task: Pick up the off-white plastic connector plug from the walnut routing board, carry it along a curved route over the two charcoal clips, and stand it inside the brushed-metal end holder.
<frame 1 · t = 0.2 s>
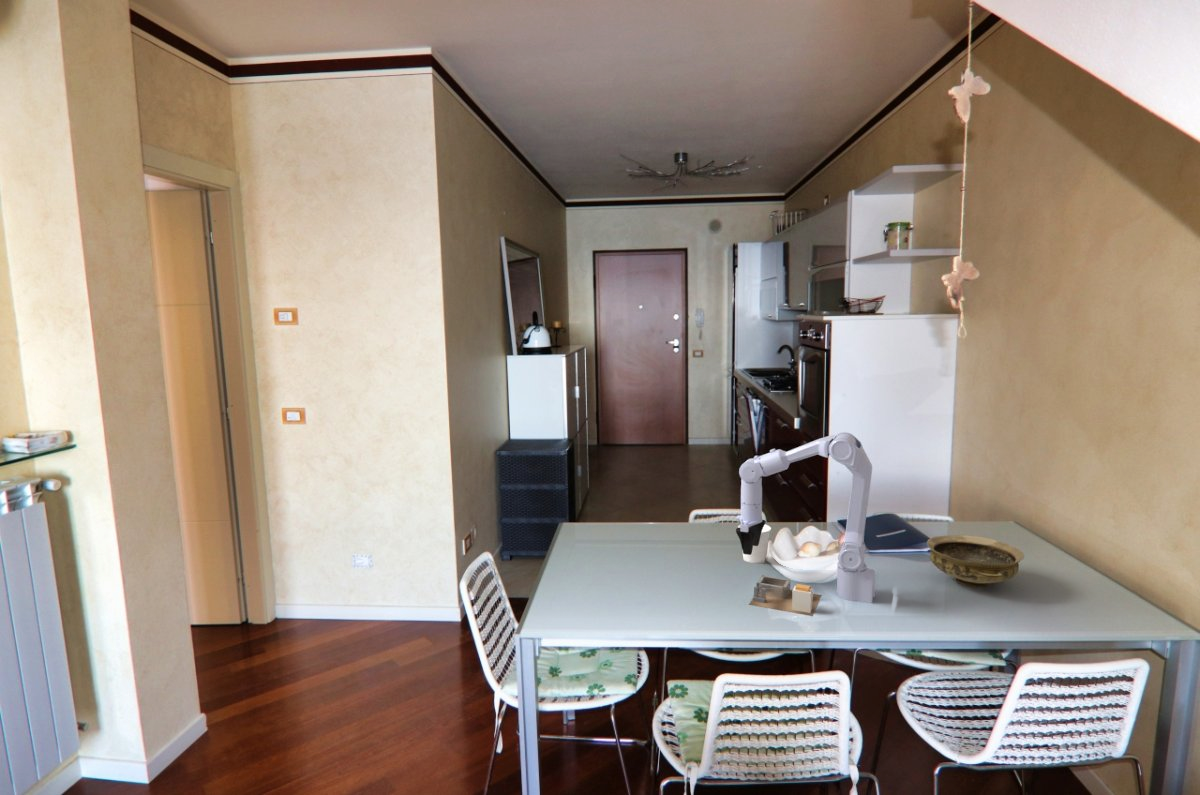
hand: (750, 549, 194), 10 cm above the table, tool pointing down, fingers open, 7 cm apart
connector: (802, 609, 176), point 1 cm above the table, touching routing board
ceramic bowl: (972, 582, 194), on the table
clip a: (805, 598, 182), resting on routing board
cup: (753, 562, 212), on the table
clip b: (759, 600, 181), resting on routing board
end holder: (773, 592, 187), resting on routing board
routing board: (785, 603, 182), on the table
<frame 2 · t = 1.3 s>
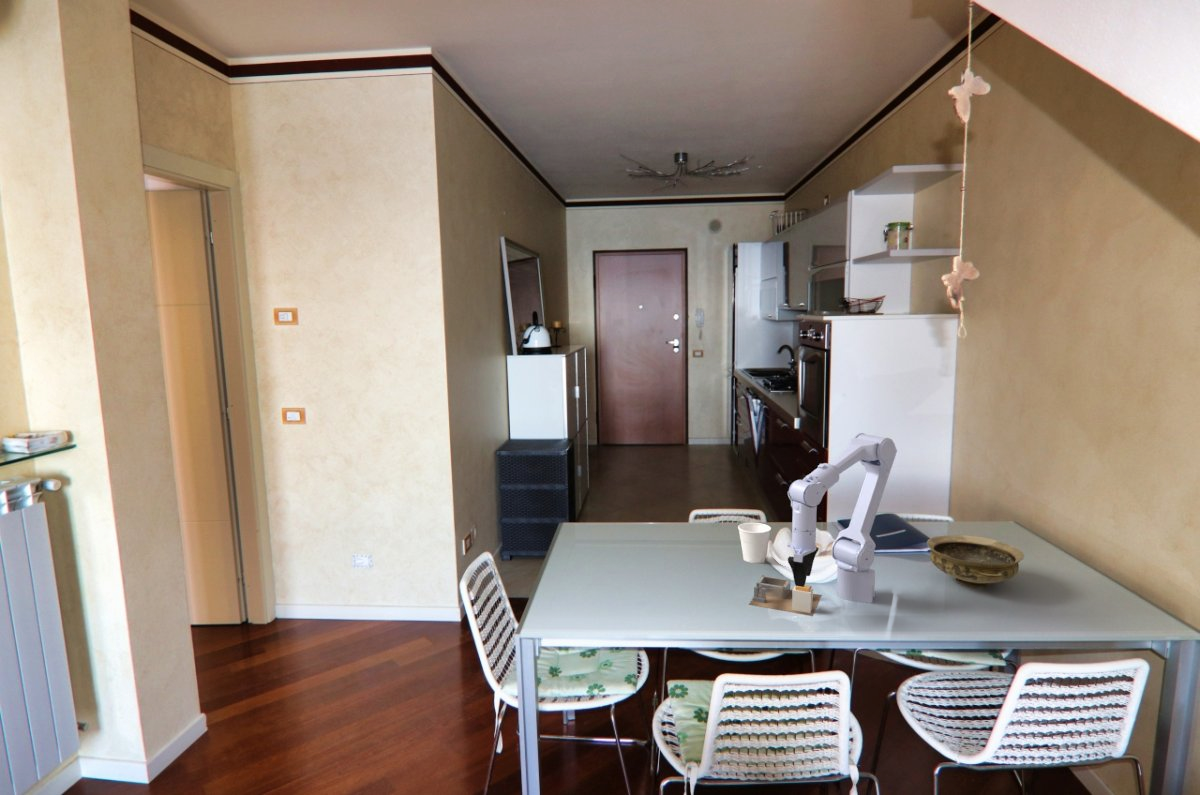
hand: (802, 580, 175), 9 cm above the table, tool pointing down, fingers open, 7 cm apart
nothing on the table moved.
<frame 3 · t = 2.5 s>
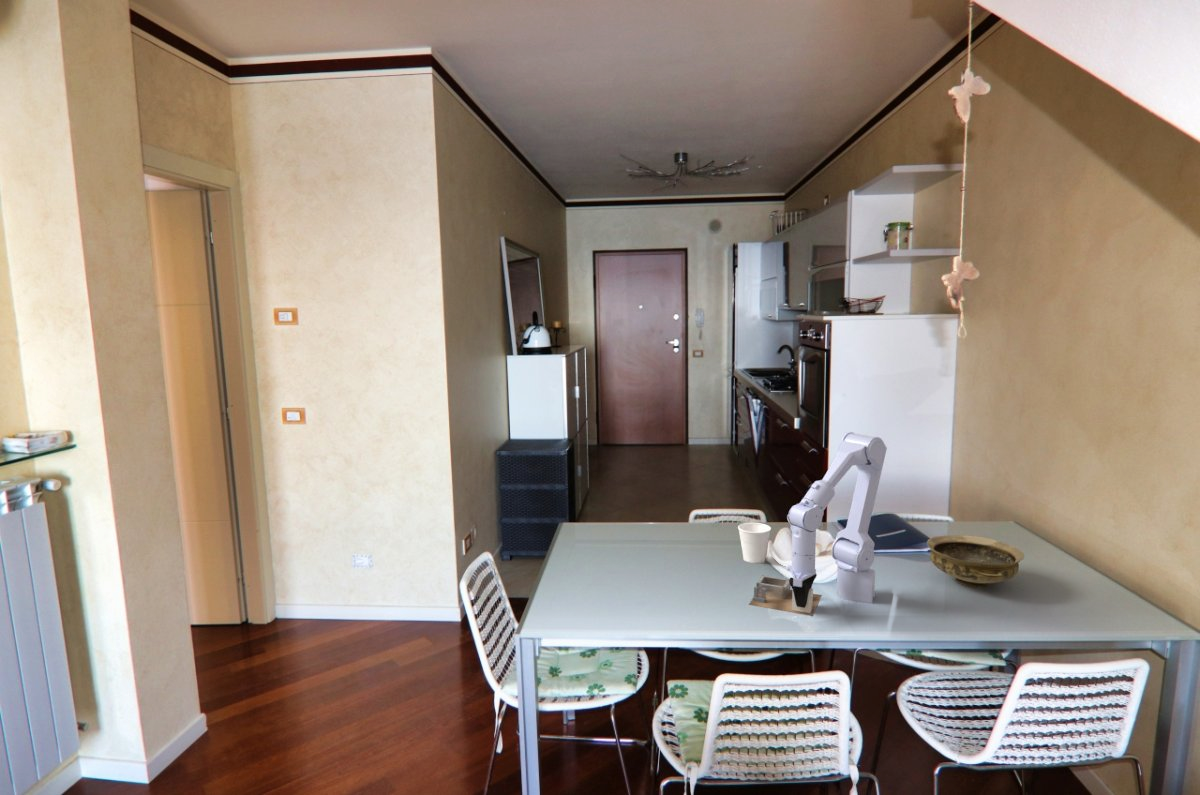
hand: (802, 603, 176), 2 cm above the table, tool pointing down, fingers closed on connector, 3 cm apart
connector: (802, 609, 176), point 1 cm above the table, touching gripper, routing board
everything else where it was.
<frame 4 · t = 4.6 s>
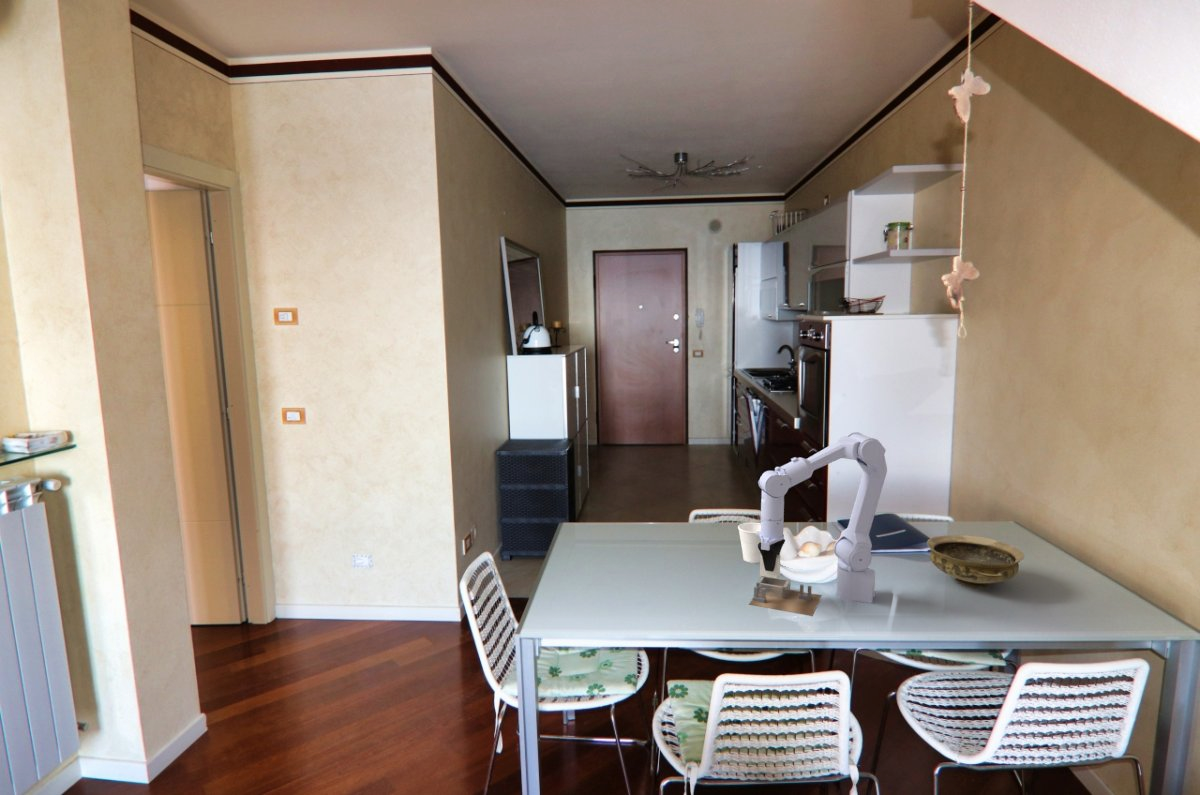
hand: (770, 568, 181), 10 cm above the table, tool pointing down, fingers closed on connector, 3 cm apart
connector: (769, 574, 181), point 8 cm above the table, touching gripper
everything else where it was.
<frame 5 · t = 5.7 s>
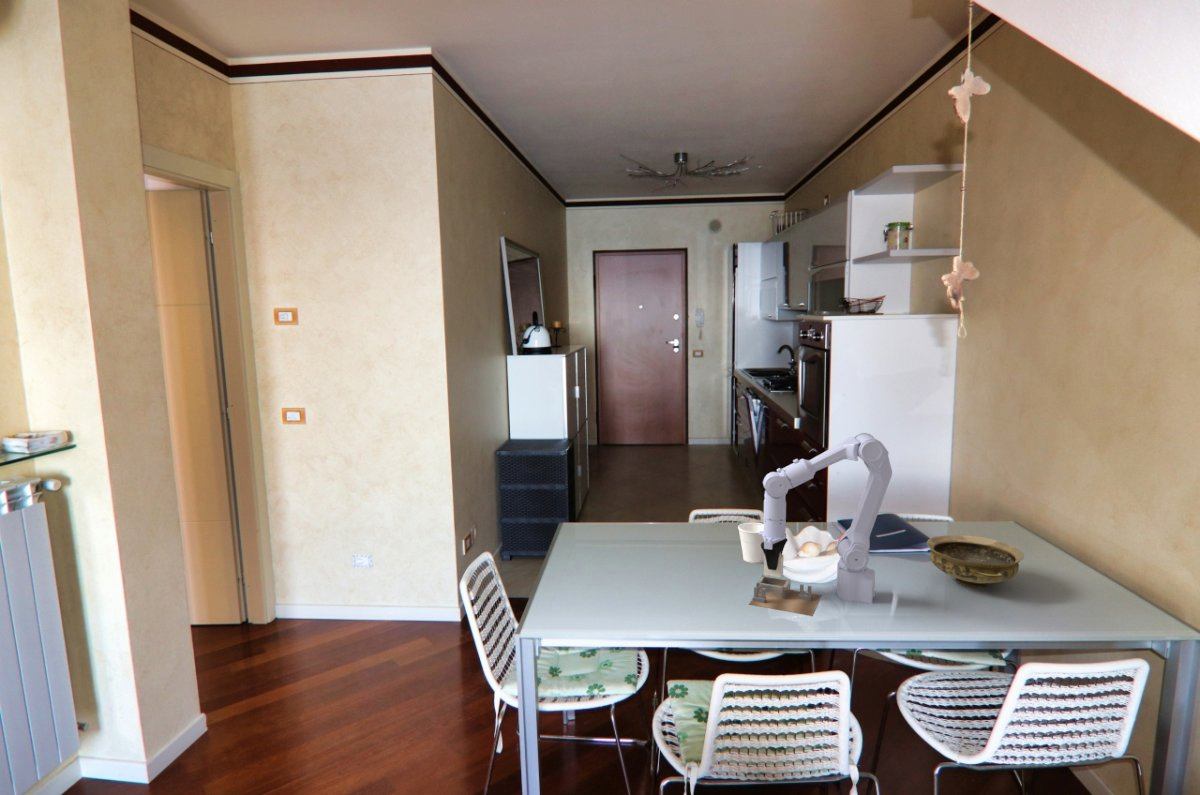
hand: (773, 567, 186), 8 cm above the table, tool pointing down, fingers closed on connector, 3 cm apart
connector: (773, 574, 186), point 6 cm above the table, touching gripper
everything else where it was.
when the fingers open (5 cm above the table, at t = 6.6 s): connector drops 2 cm, resting on routing board.
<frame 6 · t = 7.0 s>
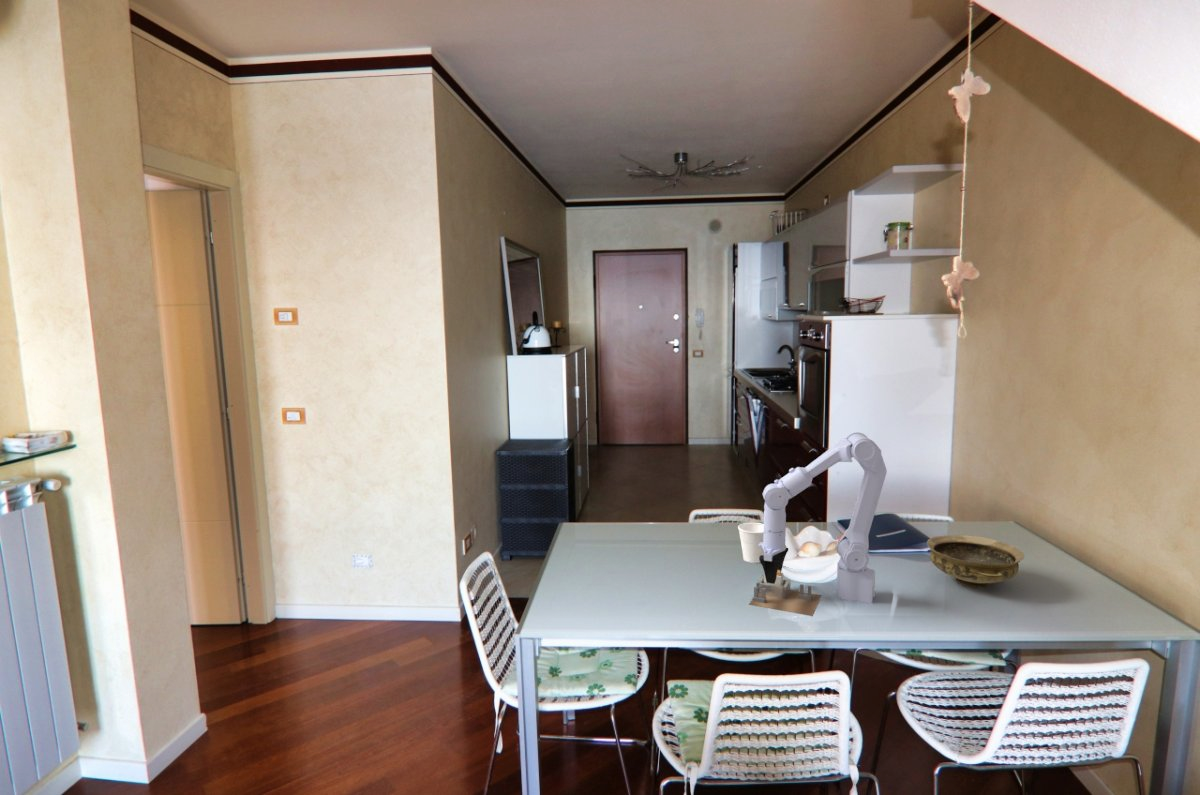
hand: (773, 578, 186), 5 cm above the table, tool pointing down, fingers open, 6 cm apart
connector: (773, 592, 187), point 1 cm above the table, touching routing board
everything else where it was.
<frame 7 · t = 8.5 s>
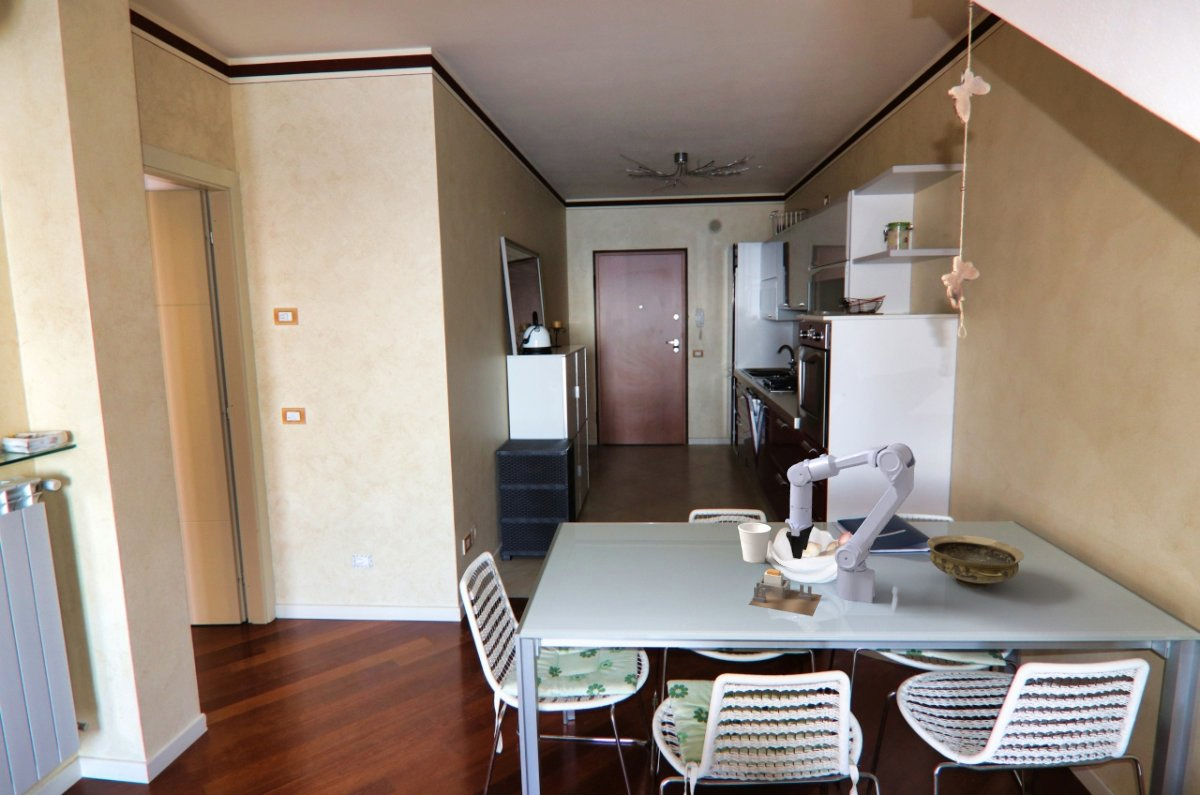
hand: (799, 553, 192), 9 cm above the table, tool pointing down, fingers open, 7 cm apart
nothing on the table moved.
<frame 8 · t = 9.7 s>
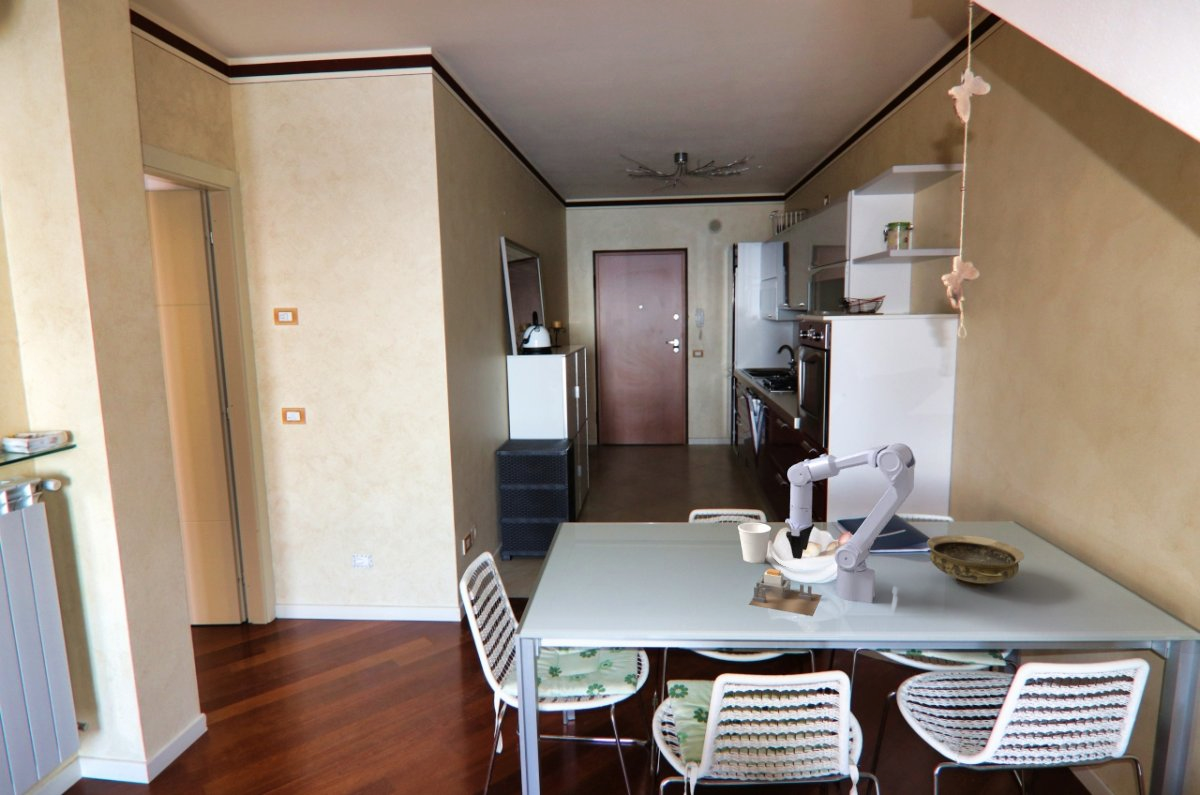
hand: (799, 553, 192), 9 cm above the table, tool pointing down, fingers open, 7 cm apart
nothing on the table moved.
at the end: connector 0.0 cm off-centre on the end holder, point 0.0 cm above the end holder's base; connector tilted 0°; the gripper is holding nothing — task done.
